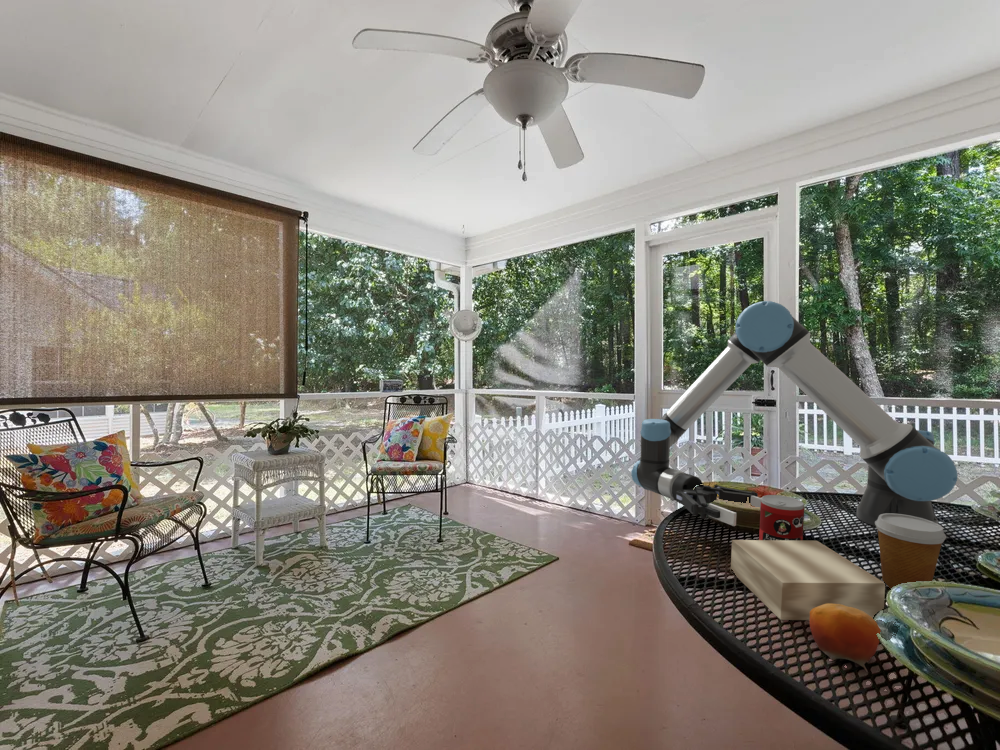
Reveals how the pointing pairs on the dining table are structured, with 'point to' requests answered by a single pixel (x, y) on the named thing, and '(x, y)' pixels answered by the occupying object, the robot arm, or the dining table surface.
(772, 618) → the dining table surface
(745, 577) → the birch block
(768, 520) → the canned food
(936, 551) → the disposable coffee cup
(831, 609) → the fruit
